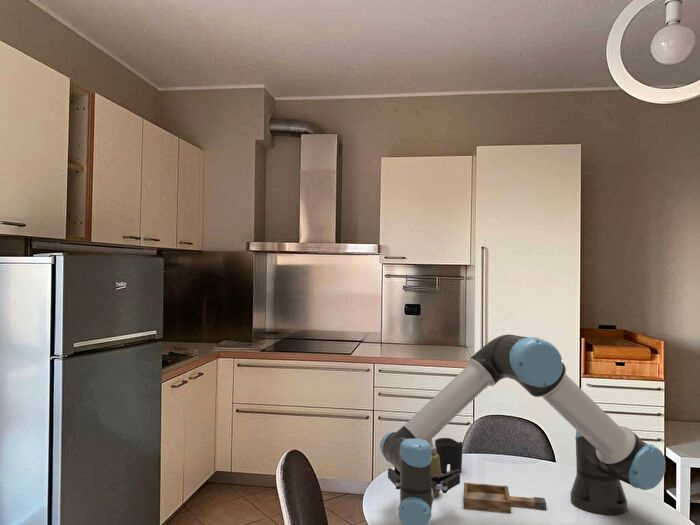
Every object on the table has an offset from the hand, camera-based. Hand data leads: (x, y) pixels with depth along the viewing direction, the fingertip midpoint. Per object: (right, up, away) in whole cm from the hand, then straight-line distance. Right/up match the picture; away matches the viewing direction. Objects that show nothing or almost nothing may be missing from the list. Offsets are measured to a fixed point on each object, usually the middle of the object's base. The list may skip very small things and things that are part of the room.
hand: (425, 467), depth 160 cm
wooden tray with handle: (+23, -10, -2) cm, 25 cm away
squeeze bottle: (+2, -10, +5) cm, 11 cm away
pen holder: (+12, -12, +27) cm, 32 cm away
